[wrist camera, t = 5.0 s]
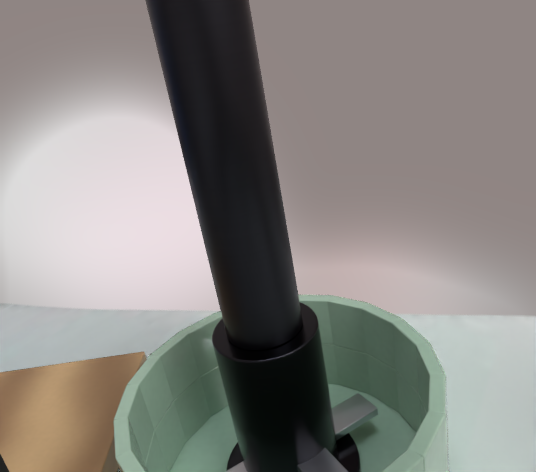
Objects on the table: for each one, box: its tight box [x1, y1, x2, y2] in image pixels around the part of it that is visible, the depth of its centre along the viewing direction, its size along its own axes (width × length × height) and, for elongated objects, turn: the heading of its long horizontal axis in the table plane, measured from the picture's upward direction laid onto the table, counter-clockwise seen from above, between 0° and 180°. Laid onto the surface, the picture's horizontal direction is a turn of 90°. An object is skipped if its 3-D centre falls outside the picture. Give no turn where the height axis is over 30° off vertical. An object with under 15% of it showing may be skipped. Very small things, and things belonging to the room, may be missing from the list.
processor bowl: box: [113, 295, 449, 472], centre depth 22 cm, size 13×13×6 cm
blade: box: [146, 0, 378, 472], centre depth 19 cm, size 9×9×20 cm
